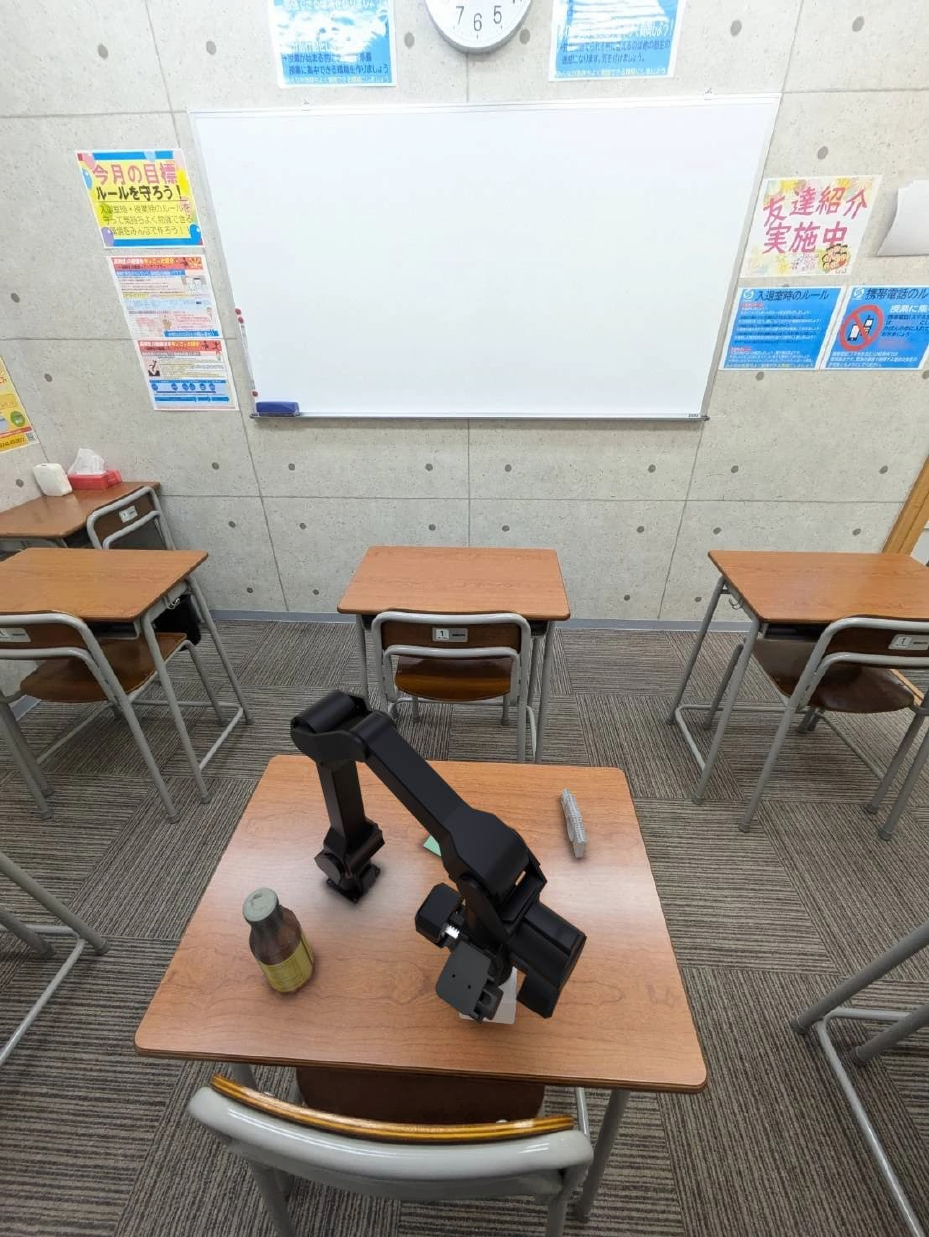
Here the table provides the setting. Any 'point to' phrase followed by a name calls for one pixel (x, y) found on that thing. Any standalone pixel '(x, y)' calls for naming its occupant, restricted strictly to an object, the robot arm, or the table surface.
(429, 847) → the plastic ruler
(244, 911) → the sauce bottle
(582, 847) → the garden wall model
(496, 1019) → the security camera
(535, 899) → the robot arm
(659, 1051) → the table surface
